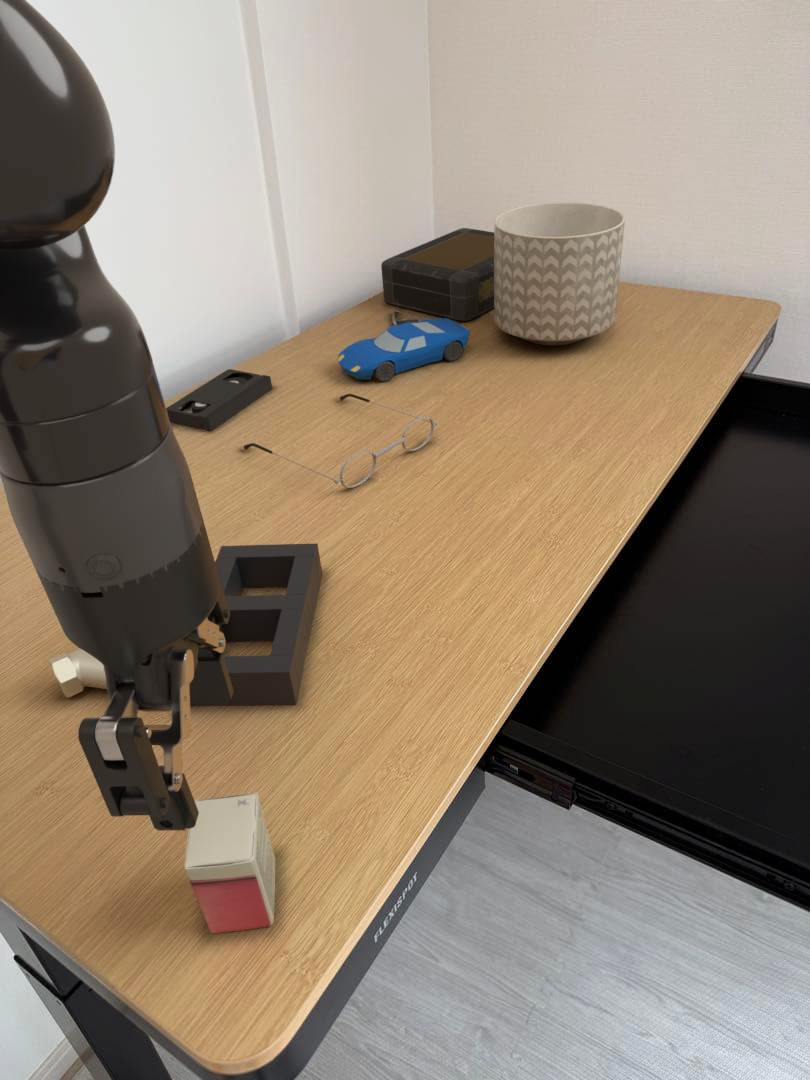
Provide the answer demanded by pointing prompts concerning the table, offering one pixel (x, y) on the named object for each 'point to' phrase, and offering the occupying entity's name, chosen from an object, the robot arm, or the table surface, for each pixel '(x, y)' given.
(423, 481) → the table surface
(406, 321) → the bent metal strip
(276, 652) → the socket block
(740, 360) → the table surface
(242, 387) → the vhs tape
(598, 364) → the table surface
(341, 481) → the eyeglasses
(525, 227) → the planter
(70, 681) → the pipe fitting
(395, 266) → the jewelry box
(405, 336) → the toy car
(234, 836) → the small box
